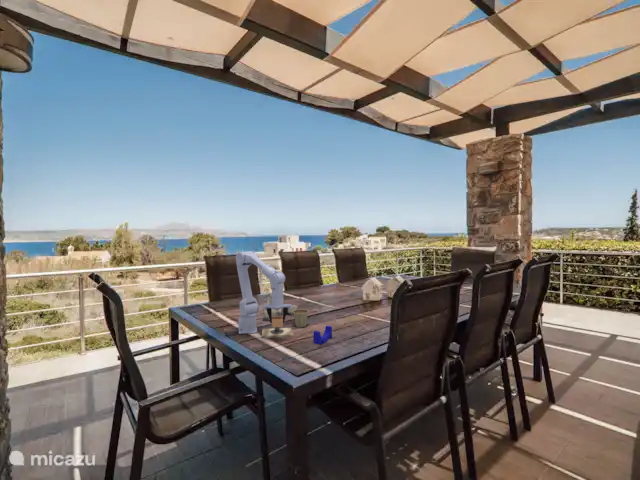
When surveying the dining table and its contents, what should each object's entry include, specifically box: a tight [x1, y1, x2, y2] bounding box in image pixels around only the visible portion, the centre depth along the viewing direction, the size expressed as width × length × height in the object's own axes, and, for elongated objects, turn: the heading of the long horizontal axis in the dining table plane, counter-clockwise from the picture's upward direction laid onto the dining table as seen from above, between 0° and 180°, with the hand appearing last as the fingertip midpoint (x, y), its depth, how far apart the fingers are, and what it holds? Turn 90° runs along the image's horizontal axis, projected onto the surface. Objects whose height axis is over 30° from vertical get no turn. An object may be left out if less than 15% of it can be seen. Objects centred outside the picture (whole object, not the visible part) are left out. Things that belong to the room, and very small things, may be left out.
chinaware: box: [261, 293, 299, 321], centre depth 213 cm, size 28×17×17 cm, turn 142°
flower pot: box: [293, 308, 310, 328], centre depth 191 cm, size 9×9×9 cm
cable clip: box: [312, 325, 333, 346], centre depth 167 cm, size 12×4×6 cm, turn 144°
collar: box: [271, 315, 284, 328], centre depth 169 cm, size 6×6×4 cm
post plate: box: [261, 327, 294, 339], centre depth 178 cm, size 16×12×6 cm
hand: (277, 322), depth 169 cm, fingers closed on collar, 6 cm apart
